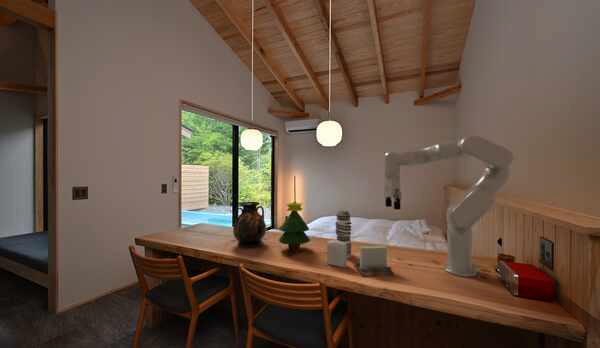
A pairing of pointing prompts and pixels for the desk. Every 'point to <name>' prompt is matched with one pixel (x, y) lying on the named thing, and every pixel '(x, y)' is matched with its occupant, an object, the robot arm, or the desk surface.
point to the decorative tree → (294, 228)
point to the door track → (374, 271)
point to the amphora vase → (249, 225)
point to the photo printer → (336, 253)
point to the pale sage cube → (373, 256)
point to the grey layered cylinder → (344, 229)
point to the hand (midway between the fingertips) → (392, 207)
